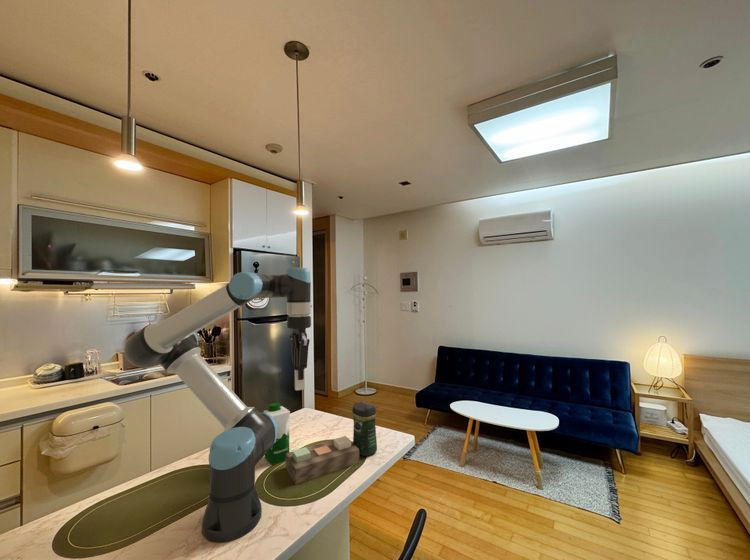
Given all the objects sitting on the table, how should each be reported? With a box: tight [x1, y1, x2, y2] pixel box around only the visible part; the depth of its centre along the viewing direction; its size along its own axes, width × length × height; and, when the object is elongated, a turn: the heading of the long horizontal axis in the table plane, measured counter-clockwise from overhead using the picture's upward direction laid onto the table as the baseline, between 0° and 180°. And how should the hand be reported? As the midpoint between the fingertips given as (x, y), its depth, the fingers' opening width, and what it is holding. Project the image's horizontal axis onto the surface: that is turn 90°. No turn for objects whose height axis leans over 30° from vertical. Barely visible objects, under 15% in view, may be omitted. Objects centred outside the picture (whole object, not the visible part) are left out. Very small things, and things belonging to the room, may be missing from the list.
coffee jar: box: [351, 401, 378, 457], centre depth 126 cm, size 10×8×19 cm
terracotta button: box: [314, 445, 332, 457], centre depth 116 cm, size 5×5×4 cm
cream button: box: [333, 435, 352, 450], centre depth 120 cm, size 5×5×4 cm
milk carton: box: [263, 402, 291, 466], centre depth 121 cm, size 9×9×20 cm
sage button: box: [291, 446, 311, 463], centre depth 111 cm, size 5×5×4 cm
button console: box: [285, 439, 360, 485], centre depth 116 cm, size 24×12×5 cm, turn 121°
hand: (299, 389), depth 101 cm, fingers closed
